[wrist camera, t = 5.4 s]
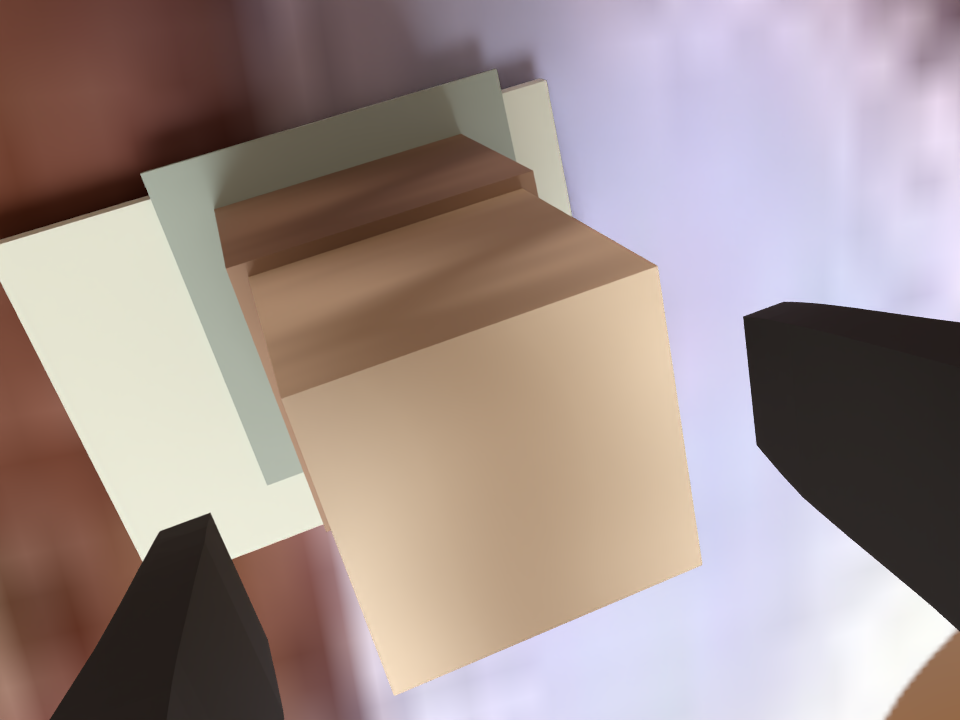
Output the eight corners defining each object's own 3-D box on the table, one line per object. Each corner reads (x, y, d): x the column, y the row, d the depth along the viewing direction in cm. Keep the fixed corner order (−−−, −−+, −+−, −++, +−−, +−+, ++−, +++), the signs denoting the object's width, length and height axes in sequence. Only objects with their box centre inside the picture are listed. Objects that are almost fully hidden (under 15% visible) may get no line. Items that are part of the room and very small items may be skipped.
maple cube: (521, 188, 14) (657, 265, 10) (572, 424, 16) (702, 564, 12) (248, 276, 13) (281, 398, 10) (336, 514, 15) (394, 695, 11)
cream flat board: (533, 53, 18) (543, 55, 18) (602, 408, 22) (611, 416, 21) (-26, 217, 16) (-31, 224, 16) (156, 577, 20) (156, 590, 19)
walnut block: (460, 133, 18) (533, 170, 14) (513, 353, 20) (586, 432, 16) (213, 209, 17) (225, 268, 13) (297, 430, 19) (326, 531, 16)
